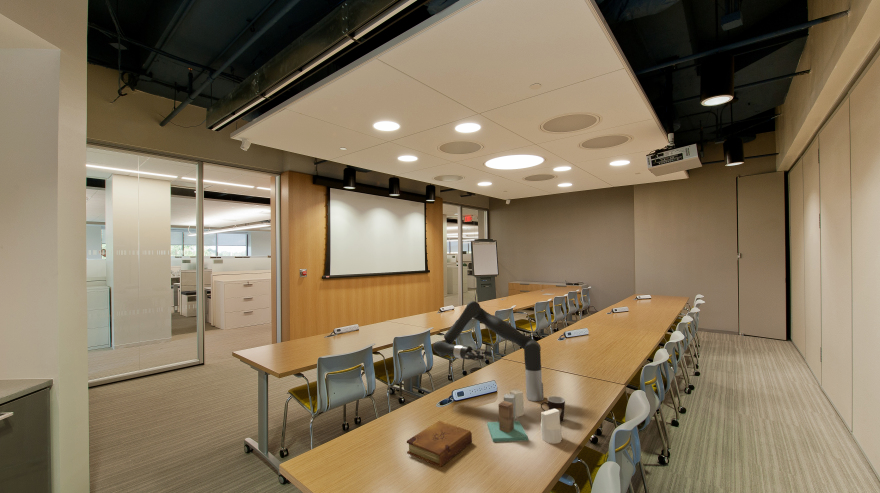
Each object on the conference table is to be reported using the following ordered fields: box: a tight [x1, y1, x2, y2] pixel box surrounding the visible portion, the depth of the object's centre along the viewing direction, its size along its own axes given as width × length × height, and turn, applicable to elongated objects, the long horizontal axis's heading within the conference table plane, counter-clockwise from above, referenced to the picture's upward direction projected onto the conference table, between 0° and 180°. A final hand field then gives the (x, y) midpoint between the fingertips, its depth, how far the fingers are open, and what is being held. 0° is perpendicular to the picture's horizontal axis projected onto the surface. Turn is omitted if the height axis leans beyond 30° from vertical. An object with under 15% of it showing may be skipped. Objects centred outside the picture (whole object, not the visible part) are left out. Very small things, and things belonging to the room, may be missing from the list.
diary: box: [406, 420, 473, 468], centre depth 154 cm, size 23×19×6 cm
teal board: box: [486, 420, 529, 443], centre depth 166 cm, size 16×16×2 cm
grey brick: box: [503, 393, 516, 421], centre depth 179 cm, size 5×5×12 cm
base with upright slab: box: [540, 408, 563, 444], centre depth 159 cm, size 9×9×12 cm
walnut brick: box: [498, 400, 514, 433], centre depth 166 cm, size 5×5×12 cm
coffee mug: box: [540, 395, 566, 423], centre depth 179 cm, size 12×9×10 cm
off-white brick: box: [509, 388, 525, 418], centre depth 185 cm, size 5×5×12 cm
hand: (487, 355), depth 193 cm, fingers open, 8 cm apart
